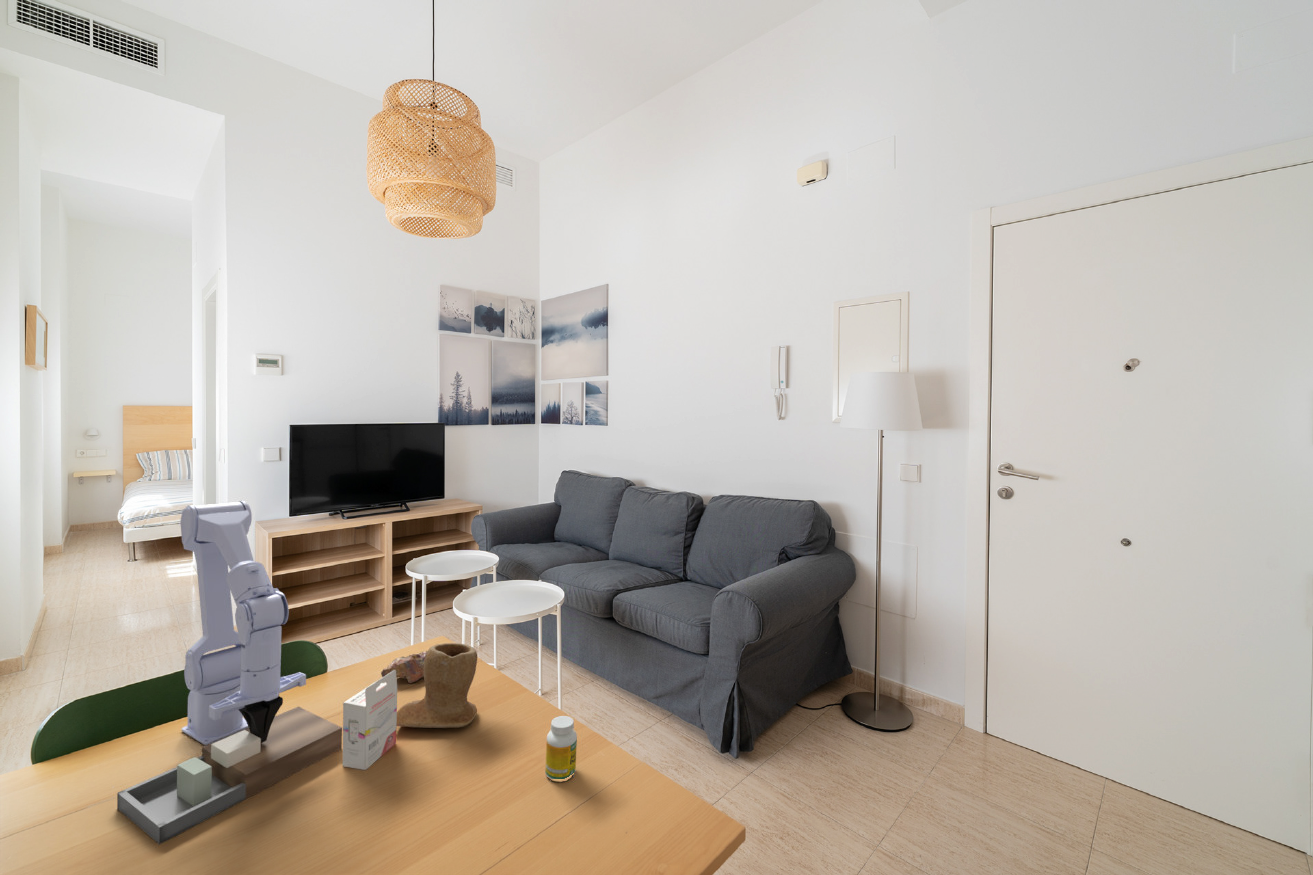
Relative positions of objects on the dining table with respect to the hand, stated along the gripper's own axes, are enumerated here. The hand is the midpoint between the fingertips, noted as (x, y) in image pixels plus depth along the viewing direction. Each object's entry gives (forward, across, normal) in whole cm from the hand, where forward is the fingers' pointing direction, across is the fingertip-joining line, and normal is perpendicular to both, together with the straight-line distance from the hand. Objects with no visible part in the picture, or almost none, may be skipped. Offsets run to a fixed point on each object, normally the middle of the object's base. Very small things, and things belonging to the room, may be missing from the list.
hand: (259, 740), depth 97 cm
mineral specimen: (+5, +36, +6) cm, 37 cm away
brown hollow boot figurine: (+5, +27, -14) cm, 31 cm away
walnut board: (+5, +2, 0) cm, 5 cm away
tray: (+5, -11, 0) cm, 12 cm away
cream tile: (+1, -4, 0) cm, 4 cm away
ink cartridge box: (+5, +12, -13) cm, 18 cm away
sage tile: (+2, -8, 0) cm, 8 cm away
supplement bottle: (+5, +26, -46) cm, 53 cm away
